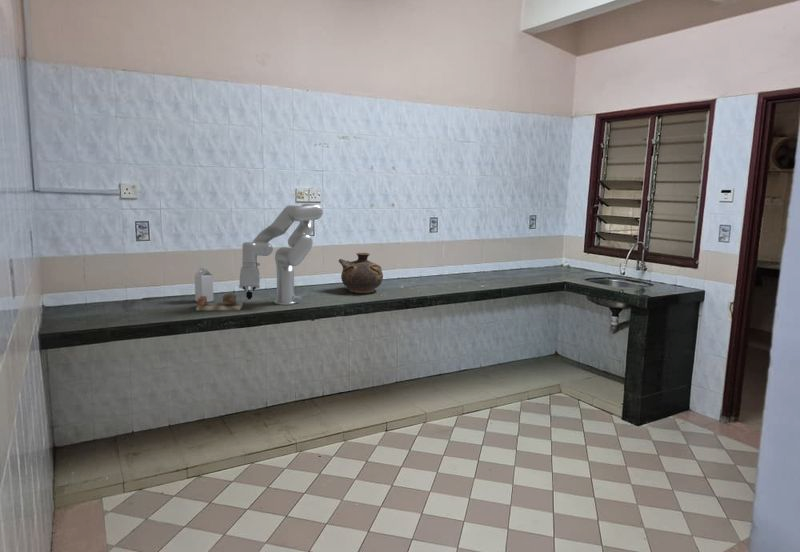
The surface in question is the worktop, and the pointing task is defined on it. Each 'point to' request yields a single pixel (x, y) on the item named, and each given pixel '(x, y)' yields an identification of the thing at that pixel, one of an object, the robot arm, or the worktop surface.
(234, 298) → the keeper
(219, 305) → the rail board
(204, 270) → the milk carton
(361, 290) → the vessel
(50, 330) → the worktop surface
